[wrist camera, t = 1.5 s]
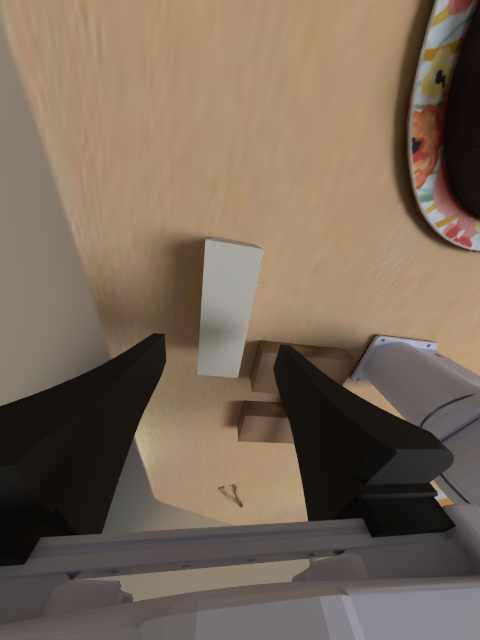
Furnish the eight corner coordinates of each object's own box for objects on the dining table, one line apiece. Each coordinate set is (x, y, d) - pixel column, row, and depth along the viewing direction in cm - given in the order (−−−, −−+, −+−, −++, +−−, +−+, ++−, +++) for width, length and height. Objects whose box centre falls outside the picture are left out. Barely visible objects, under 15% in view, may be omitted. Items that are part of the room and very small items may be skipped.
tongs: (238, 503, 47) (238, 514, 45) (218, 481, 42) (217, 492, 40) (252, 499, 46) (253, 510, 45) (234, 476, 41) (234, 487, 39)
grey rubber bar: (253, 243, 17) (264, 249, 12) (235, 343, 22) (237, 377, 17) (213, 236, 17) (205, 239, 11) (204, 340, 22) (196, 374, 17)
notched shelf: (344, 349, 24) (356, 361, 22) (302, 428, 32) (307, 443, 29) (259, 340, 22) (263, 352, 20) (237, 425, 30) (238, 441, 28)
